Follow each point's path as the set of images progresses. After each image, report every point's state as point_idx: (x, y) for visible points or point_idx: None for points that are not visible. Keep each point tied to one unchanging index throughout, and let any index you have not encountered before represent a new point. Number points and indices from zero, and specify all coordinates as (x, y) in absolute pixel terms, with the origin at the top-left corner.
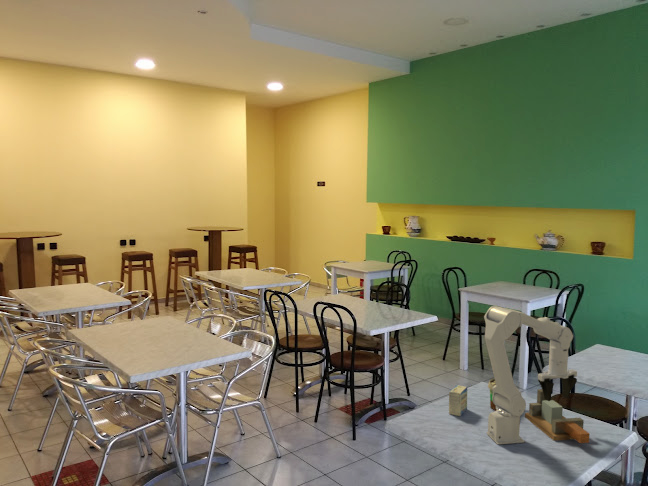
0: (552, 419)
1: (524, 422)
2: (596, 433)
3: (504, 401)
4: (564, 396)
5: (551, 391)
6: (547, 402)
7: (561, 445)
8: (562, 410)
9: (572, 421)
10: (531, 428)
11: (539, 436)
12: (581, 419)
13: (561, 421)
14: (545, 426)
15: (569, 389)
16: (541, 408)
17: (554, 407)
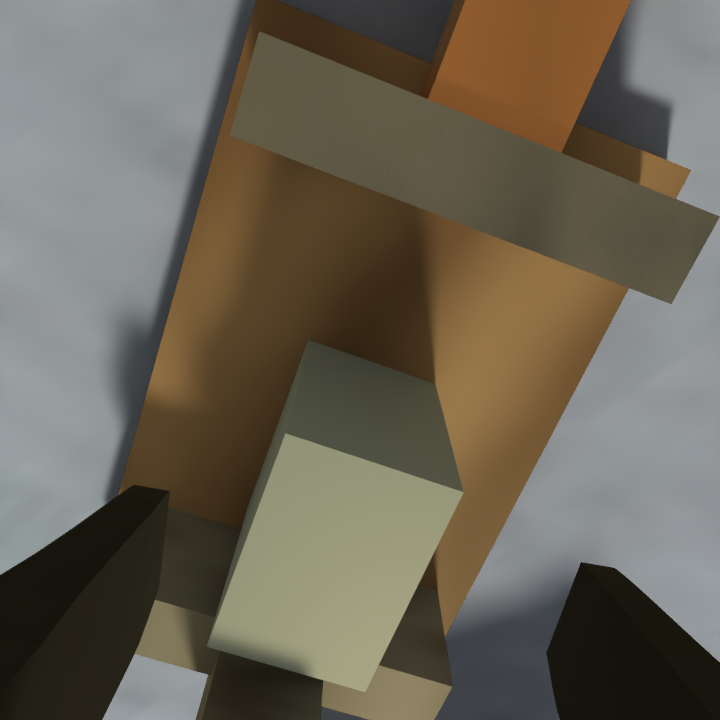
0: (665, 301)
1: (532, 566)
2: (56, 30)
3: None
4: (158, 559)
5: (713, 714)
6: (352, 626)
7: (703, 41)
8: (291, 408)
9: (450, 109)
10: (592, 459)
11: (693, 310)
12: (270, 68)
13: (620, 186)
14: (536, 381)
15: (69, 600)
16: None
17: (422, 477)
